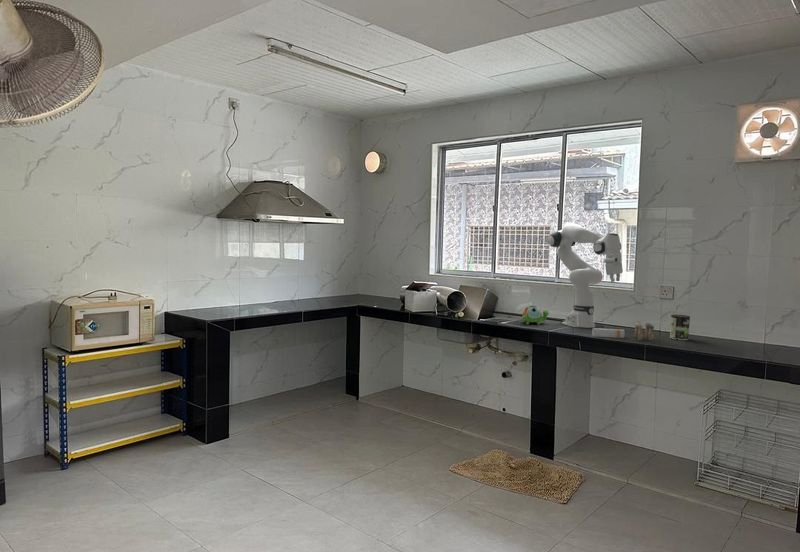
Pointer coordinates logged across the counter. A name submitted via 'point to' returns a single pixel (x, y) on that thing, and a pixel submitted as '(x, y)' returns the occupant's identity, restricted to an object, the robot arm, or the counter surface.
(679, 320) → the coffee can
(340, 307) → the counter surface
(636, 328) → the collar
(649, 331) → the collar
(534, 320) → the turtle holder
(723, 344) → the counter surface
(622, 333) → the tube
